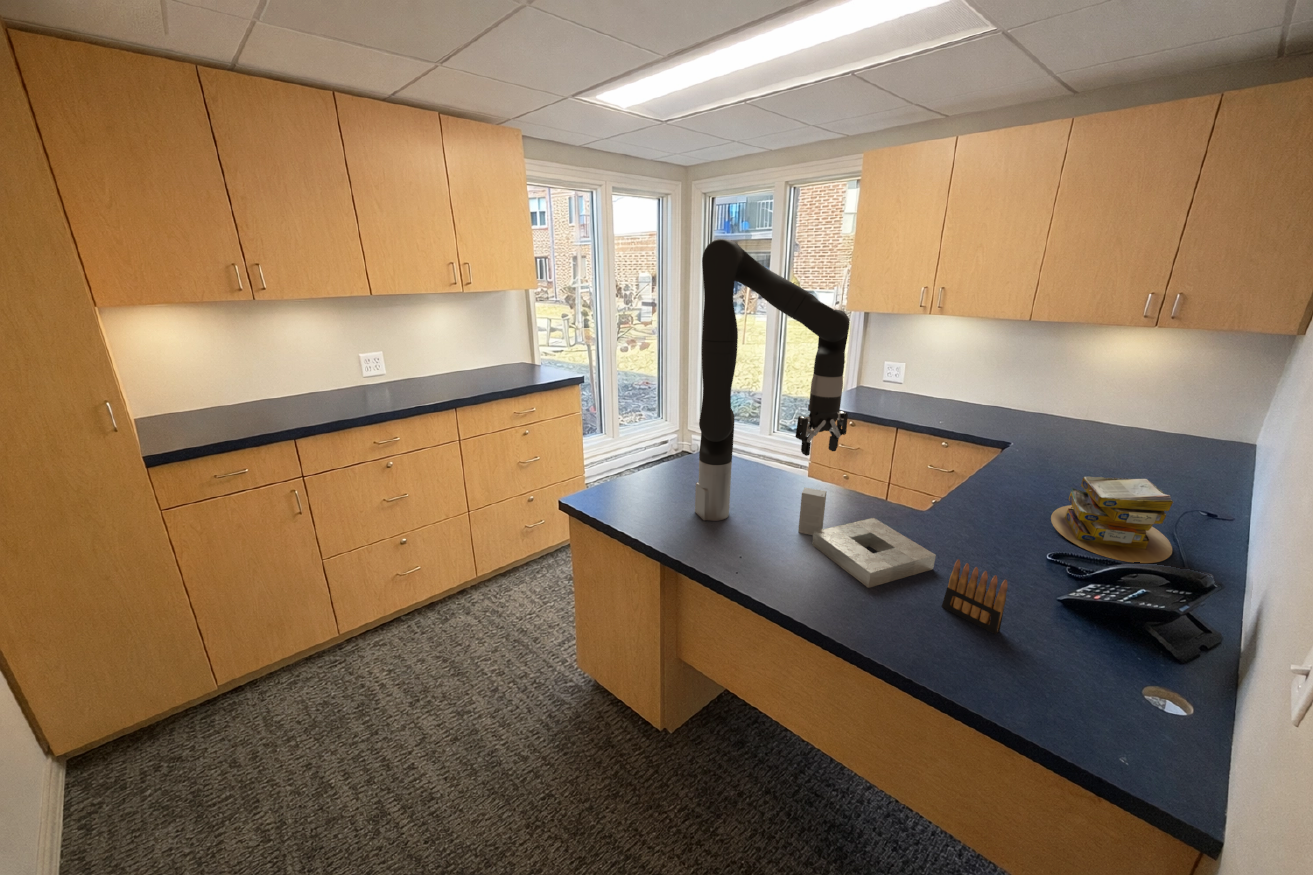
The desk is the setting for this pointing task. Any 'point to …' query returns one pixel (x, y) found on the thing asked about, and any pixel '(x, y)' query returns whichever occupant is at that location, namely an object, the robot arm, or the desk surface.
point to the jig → (868, 568)
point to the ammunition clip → (975, 598)
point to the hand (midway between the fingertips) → (819, 452)
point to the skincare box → (812, 510)
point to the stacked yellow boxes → (1116, 519)
